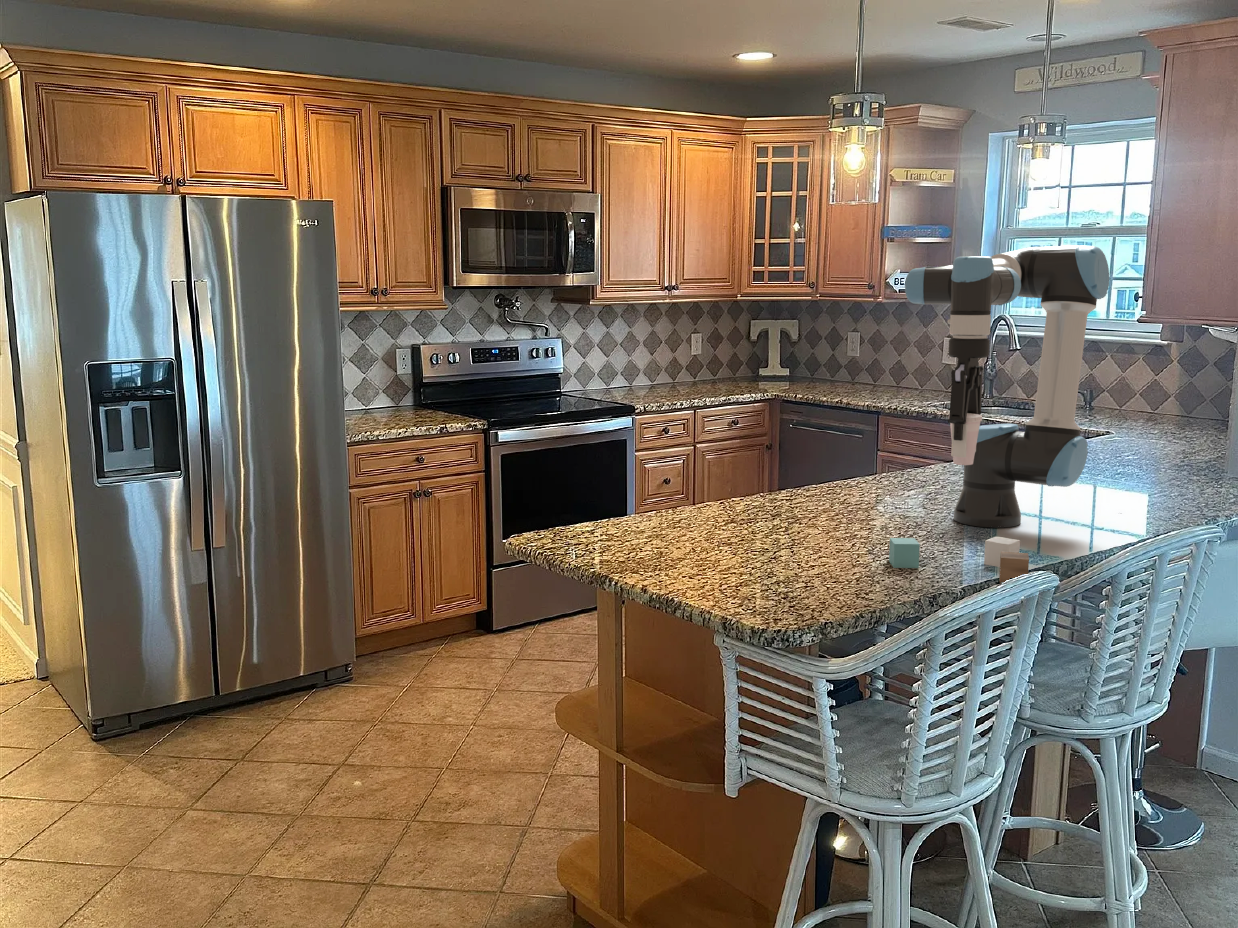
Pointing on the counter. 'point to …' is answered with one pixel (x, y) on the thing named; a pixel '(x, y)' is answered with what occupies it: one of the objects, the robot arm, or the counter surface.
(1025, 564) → the cube walnut
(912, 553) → the cube teal
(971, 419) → the smoothie
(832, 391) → the counter surface
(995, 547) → the cube grey
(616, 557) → the counter surface
